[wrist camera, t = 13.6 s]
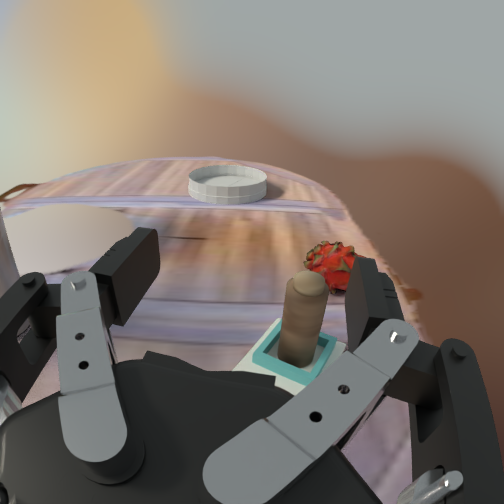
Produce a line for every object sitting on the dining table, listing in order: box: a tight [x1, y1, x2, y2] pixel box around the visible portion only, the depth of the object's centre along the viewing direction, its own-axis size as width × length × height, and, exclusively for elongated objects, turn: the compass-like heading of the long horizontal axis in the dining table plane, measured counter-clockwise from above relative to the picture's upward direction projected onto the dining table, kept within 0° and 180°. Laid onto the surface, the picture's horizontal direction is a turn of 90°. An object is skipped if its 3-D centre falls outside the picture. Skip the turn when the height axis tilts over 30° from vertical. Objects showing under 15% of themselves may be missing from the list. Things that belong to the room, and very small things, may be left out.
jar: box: [277, 271, 329, 368], centre depth 35 cm, size 4×4×11 cm
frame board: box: [232, 318, 346, 395], centre depth 33 cm, size 22×10×3 cm, turn 149°
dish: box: [188, 165, 267, 205], centre depth 90 cm, size 22×22×5 cm
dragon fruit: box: [304, 241, 366, 294], centre depth 51 cm, size 8×8×12 cm
